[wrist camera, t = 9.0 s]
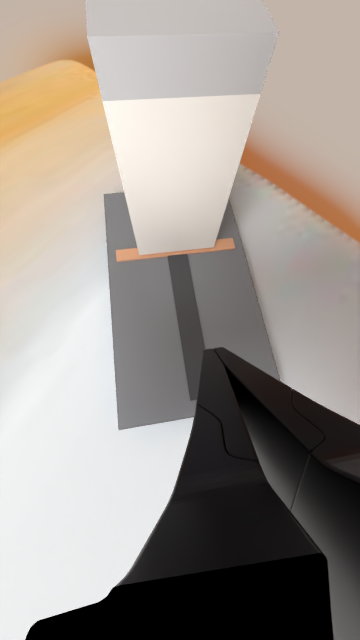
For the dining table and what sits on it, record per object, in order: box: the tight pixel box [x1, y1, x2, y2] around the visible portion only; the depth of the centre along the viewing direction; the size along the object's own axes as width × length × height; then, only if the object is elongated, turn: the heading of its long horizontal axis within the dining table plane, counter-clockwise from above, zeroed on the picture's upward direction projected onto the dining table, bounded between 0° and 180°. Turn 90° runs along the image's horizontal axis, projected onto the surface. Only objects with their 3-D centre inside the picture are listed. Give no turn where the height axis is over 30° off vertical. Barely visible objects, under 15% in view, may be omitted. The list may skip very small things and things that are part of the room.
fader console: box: [104, 193, 280, 430], centre depth 17 cm, size 19×11×2 cm, turn 9°
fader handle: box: [86, 0, 279, 255], centre depth 12 cm, size 3×6×11 cm, turn 99°
